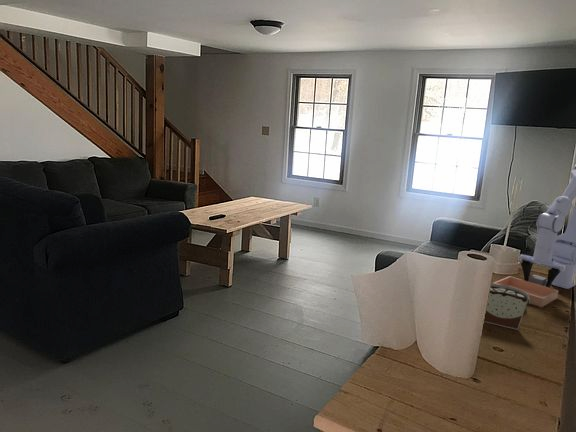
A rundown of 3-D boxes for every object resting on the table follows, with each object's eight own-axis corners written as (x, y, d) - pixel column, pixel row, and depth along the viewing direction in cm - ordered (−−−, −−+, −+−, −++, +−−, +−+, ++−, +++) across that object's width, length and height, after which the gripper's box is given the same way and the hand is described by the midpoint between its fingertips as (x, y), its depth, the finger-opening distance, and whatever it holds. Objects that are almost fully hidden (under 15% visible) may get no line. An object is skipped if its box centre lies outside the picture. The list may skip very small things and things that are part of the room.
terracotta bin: (508, 283, 168) (509, 276, 167) (556, 298, 157) (558, 290, 156) (491, 291, 158) (492, 282, 158) (541, 307, 147) (543, 298, 147)
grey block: (531, 286, 168) (534, 274, 167) (544, 290, 165) (547, 278, 164) (526, 288, 165) (529, 276, 164) (540, 292, 162) (542, 280, 161)
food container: (523, 323, 133) (530, 290, 131) (524, 331, 128) (531, 296, 126) (477, 312, 138) (483, 280, 136) (475, 319, 133) (482, 286, 131)
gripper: (518, 243, 164) (511, 280, 167) (563, 255, 154) (555, 294, 157) (526, 241, 169) (518, 277, 172) (570, 252, 159) (562, 290, 162)
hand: (536, 285), depth 165 cm, fingers open, 6 cm apart
